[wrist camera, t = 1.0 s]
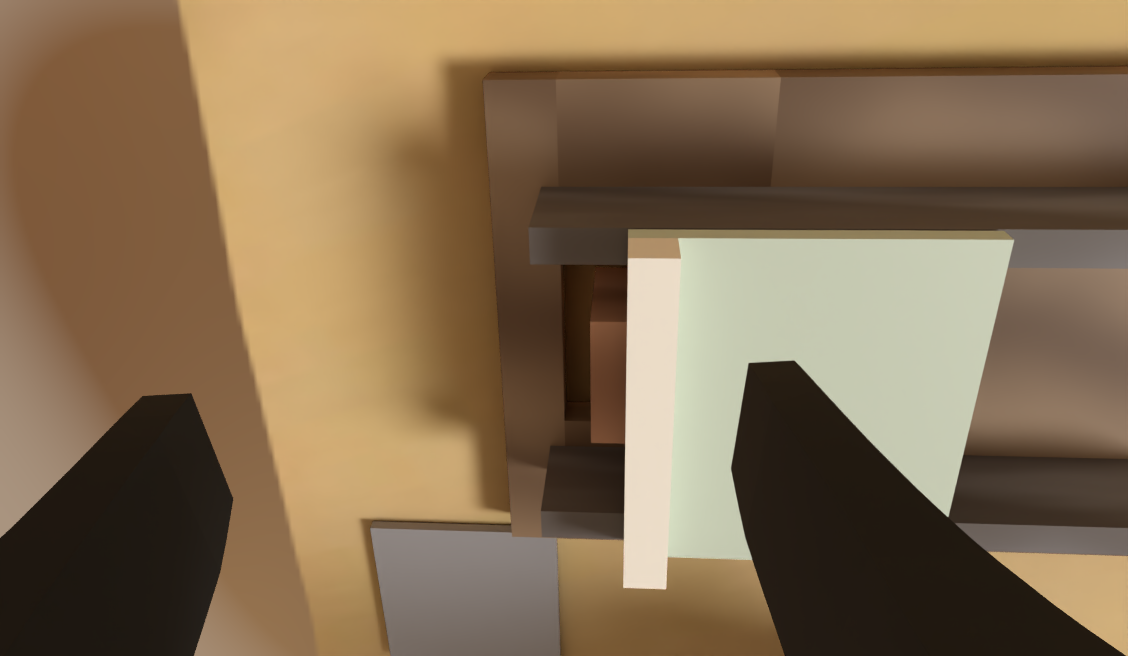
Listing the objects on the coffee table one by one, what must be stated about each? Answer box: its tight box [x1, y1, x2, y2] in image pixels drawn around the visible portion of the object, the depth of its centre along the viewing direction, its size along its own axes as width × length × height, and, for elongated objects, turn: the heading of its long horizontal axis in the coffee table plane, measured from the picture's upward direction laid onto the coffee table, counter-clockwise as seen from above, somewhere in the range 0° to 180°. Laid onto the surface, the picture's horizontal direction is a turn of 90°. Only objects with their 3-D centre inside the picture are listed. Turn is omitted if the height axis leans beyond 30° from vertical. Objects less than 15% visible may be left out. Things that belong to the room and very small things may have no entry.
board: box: [483, 66, 1128, 556], centre depth 24 cm, size 16×22×5 cm
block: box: [590, 267, 628, 444], centre depth 25 cm, size 4×4×4 cm
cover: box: [623, 229, 1014, 589], centre depth 22 cm, size 10×9×2 cm
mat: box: [370, 521, 561, 656], centre depth 33 cm, size 7×7×1 cm
